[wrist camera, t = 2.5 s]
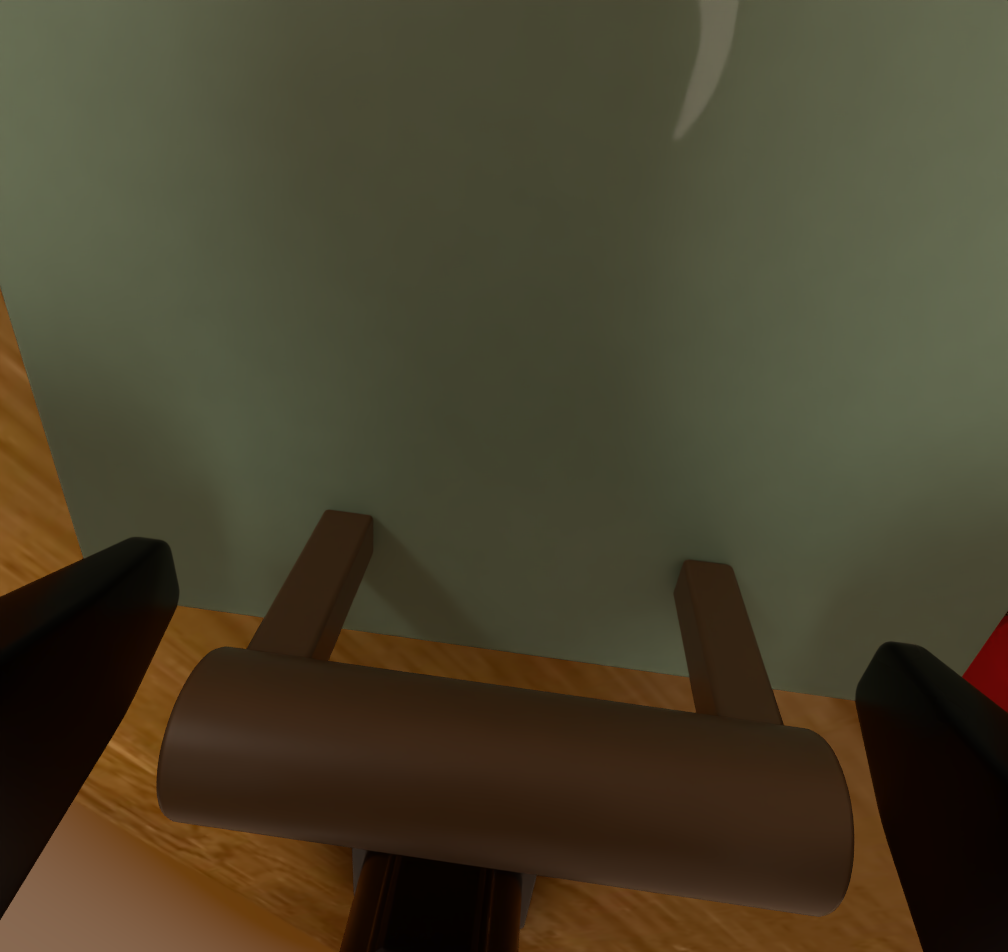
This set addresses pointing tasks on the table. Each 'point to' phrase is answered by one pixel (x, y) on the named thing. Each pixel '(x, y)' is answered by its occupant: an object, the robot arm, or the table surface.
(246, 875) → the table surface
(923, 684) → the robot arm
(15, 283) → the lid
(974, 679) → the soda can
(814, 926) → the table surface
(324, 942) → the table surface
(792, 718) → the table surface
